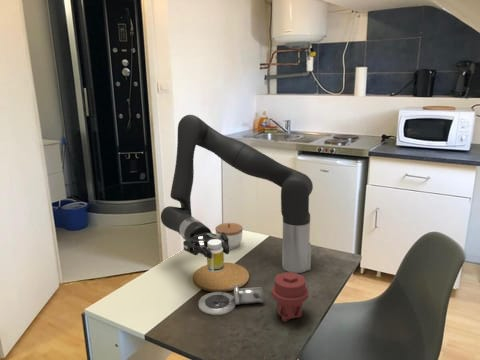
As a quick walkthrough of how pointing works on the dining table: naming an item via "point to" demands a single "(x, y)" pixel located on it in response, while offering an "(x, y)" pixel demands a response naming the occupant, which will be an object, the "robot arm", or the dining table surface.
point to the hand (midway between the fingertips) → (219, 253)
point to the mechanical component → (289, 294)
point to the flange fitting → (229, 300)
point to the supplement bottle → (215, 256)
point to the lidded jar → (231, 233)
